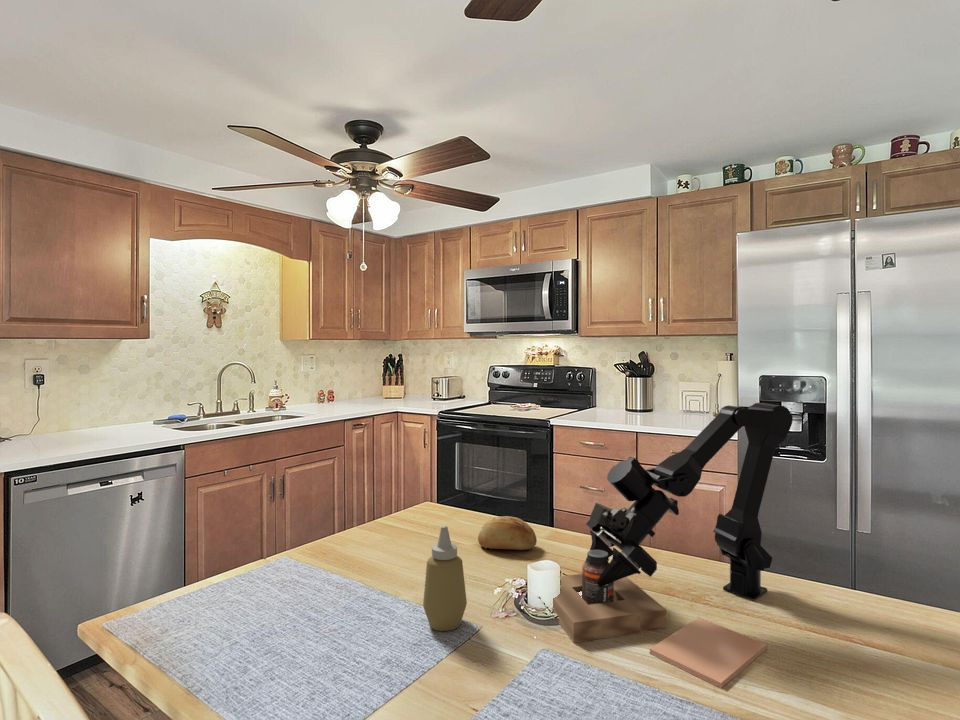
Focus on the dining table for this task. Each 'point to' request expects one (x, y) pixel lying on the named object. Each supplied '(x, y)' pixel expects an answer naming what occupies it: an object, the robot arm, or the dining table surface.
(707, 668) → the terracotta tile
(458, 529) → the dining table surface
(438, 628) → the squeeze bottle
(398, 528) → the dining table surface
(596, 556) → the supplement bottle
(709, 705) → the dining table surface
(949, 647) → the dining table surface
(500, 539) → the bread roll
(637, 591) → the walnut holder
